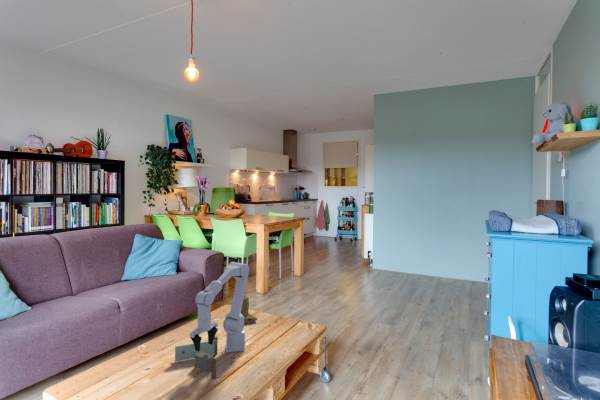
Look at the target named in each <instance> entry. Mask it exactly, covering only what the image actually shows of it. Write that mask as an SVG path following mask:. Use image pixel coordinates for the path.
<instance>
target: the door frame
mask: <svg viewBox="0 0 600 400" xmlns="http://www.w3.org/2000/svg"><path fill="white" fill-rule="evenodd" d="M218 337H219V336H216V335H215V337H214V340H217V343H216V355H218V339H219V338H218ZM216 379H217V358H216V357H215V358H214V359H211V371H210V380H216Z"/></svg>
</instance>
